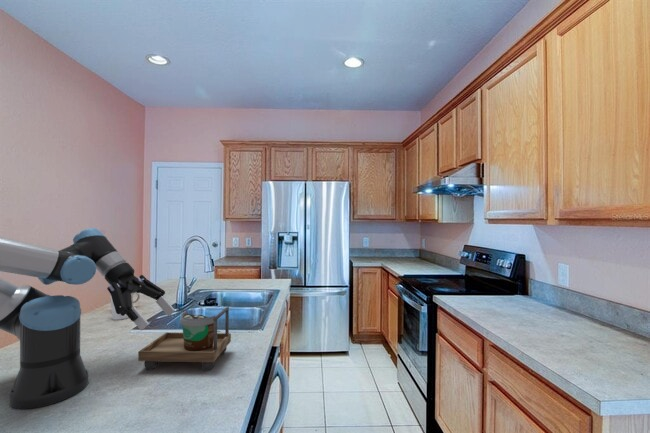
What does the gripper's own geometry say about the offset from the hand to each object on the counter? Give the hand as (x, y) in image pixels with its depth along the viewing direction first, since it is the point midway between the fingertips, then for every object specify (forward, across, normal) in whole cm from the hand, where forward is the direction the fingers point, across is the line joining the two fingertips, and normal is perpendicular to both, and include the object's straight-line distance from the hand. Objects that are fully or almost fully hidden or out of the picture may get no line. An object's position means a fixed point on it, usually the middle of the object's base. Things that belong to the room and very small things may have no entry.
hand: (159, 319), depth 97 cm
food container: (+14, 0, +2) cm, 14 cm away
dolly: (+15, -1, -2) cm, 16 cm away
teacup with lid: (-25, -50, -44) cm, 71 cm away
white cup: (-20, -39, -39) cm, 58 cm away
